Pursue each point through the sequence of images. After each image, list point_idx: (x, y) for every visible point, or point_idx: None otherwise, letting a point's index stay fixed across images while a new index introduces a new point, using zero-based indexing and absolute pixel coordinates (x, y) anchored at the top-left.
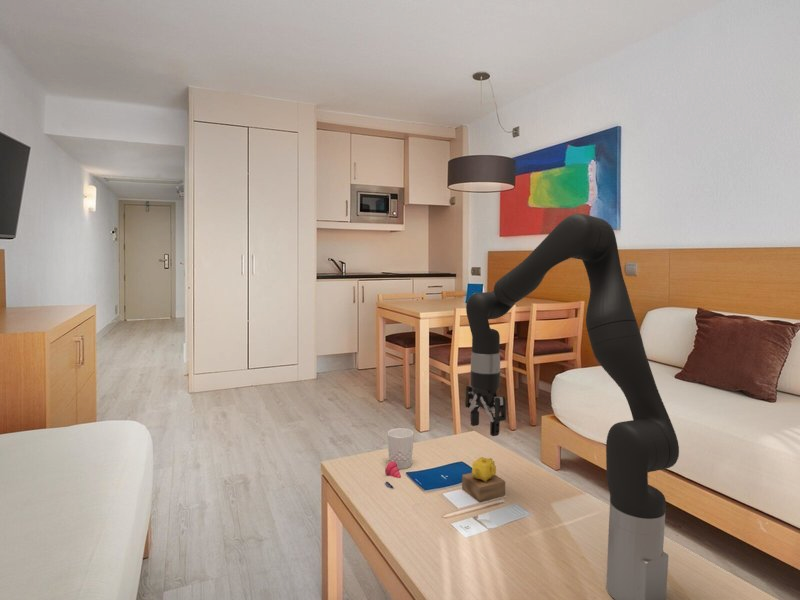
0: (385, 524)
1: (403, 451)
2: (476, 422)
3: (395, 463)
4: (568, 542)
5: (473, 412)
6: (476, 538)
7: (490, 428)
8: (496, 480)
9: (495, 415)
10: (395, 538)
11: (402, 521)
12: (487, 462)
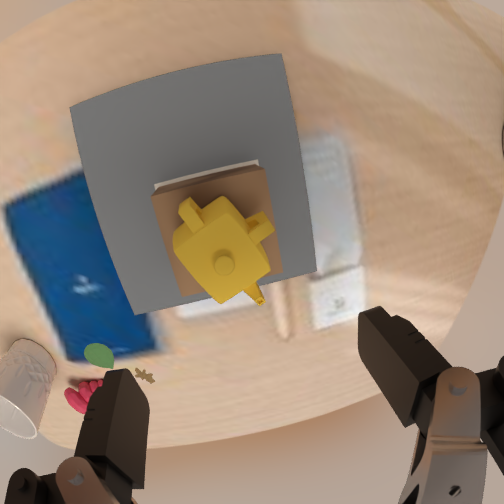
0: (277, 416)
1: (43, 394)
2: (132, 397)
3: (77, 401)
4: (442, 132)
5: (133, 482)
6: (376, 296)
7: (381, 387)
8: (250, 197)
9: (491, 444)
10: (319, 405)
11: (277, 398)
12: (235, 247)
